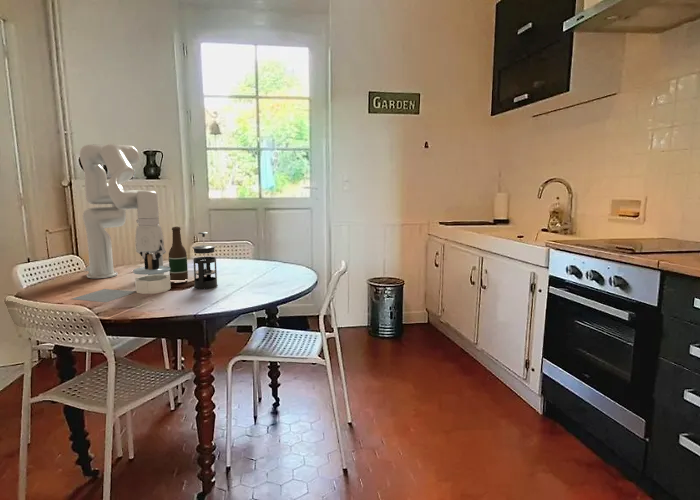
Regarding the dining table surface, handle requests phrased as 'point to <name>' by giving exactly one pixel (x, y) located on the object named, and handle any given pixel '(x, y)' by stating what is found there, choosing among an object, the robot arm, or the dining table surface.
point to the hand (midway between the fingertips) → (152, 268)
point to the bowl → (152, 284)
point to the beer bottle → (177, 257)
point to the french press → (205, 281)
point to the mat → (104, 295)
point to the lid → (150, 271)
